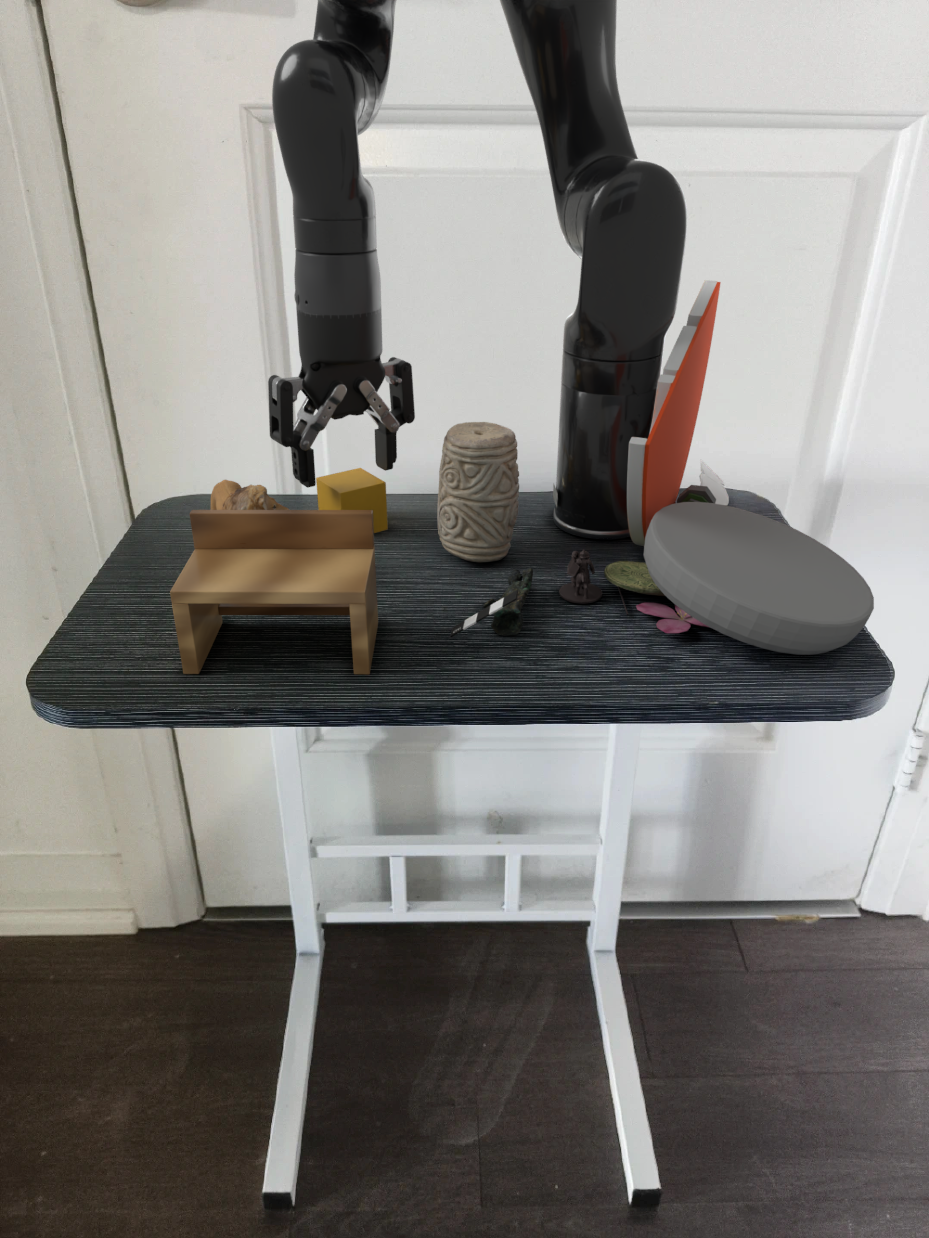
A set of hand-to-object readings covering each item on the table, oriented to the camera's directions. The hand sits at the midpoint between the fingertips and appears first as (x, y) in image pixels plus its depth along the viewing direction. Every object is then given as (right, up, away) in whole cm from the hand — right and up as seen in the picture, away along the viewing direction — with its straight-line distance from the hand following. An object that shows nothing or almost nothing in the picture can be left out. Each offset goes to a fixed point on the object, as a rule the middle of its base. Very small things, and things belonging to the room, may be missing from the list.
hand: (346, 476), depth 93 cm
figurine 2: (+22, -12, -10) cm, 27 cm away
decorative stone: (+35, -9, -16) cm, 40 cm away
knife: (+38, -4, +4) cm, 38 cm away
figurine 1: (+14, -14, -13) cm, 24 cm away
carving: (+13, -8, -3) cm, 15 cm away
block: (0, -5, +3) cm, 6 cm away
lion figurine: (-9, -9, -4) cm, 13 cm away
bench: (-3, -16, -18) cm, 24 cm away
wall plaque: (+36, +13, +7) cm, 39 cm away
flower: (+29, -14, -14) cm, 35 cm away
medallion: (+27, -11, -10) cm, 31 cm away
